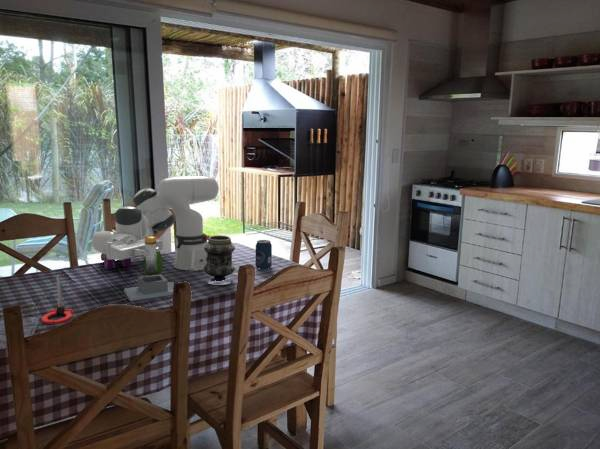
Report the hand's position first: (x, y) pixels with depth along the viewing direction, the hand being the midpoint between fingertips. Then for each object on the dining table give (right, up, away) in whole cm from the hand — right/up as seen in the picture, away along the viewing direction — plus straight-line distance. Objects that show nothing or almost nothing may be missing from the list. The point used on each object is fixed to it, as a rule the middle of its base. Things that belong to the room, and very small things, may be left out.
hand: (152, 251), depth 173 cm
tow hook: (-23, -20, -22) cm, 37 cm away
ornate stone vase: (+21, -13, +17) cm, 30 cm away
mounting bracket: (-28, -8, +38) cm, 48 cm away
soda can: (+37, -10, +38) cm, 53 cm away
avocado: (-7, -11, +23) cm, 26 cm away
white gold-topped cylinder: (-1, -7, +2) cm, 7 cm away
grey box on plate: (-1, -15, +3) cm, 16 cm away
